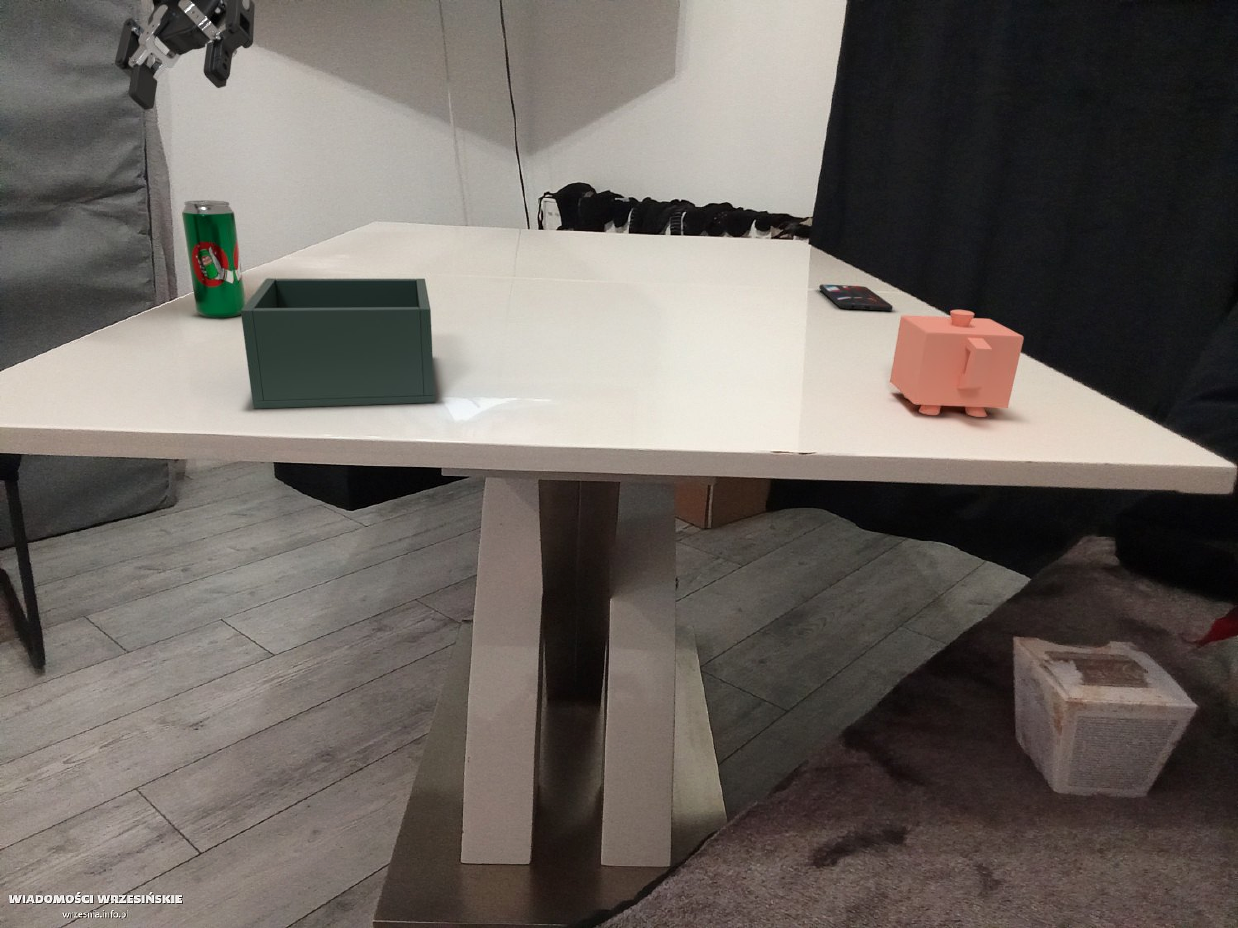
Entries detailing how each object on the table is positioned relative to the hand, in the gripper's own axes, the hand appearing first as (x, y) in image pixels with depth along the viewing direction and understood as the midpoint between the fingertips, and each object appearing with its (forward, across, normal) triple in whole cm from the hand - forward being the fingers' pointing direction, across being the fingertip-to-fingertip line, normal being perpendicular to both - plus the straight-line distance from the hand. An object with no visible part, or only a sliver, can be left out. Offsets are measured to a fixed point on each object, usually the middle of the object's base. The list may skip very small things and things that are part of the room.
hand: (177, 92), depth 80 cm
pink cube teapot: (+36, +65, +22) cm, 78 cm away
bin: (+31, +17, +6) cm, 36 cm away
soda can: (+14, -8, +17) cm, 23 cm away
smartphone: (+4, +62, +59) cm, 86 cm away
